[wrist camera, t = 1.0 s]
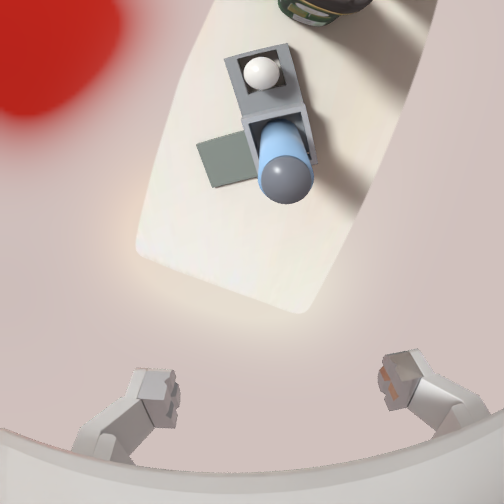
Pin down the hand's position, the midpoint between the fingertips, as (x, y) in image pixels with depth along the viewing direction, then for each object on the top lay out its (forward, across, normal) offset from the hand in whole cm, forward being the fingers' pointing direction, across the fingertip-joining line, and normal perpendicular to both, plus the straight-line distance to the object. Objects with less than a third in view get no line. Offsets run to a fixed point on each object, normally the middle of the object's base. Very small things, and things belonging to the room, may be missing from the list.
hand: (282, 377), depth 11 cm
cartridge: (+32, -4, -7) cm, 33 cm away
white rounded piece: (+30, -1, -16) cm, 34 cm away
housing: (+34, -3, -12) cm, 36 cm away
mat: (+36, +4, -4) cm, 36 cm away
